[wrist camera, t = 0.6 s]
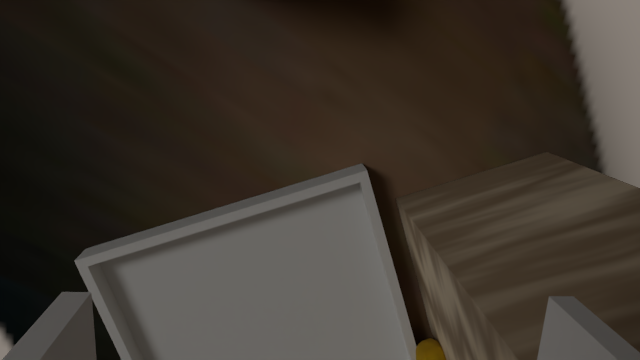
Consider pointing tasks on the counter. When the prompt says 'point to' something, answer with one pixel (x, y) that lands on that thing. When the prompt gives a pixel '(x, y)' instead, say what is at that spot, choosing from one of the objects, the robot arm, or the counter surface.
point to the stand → (523, 254)
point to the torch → (429, 350)
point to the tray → (258, 280)
